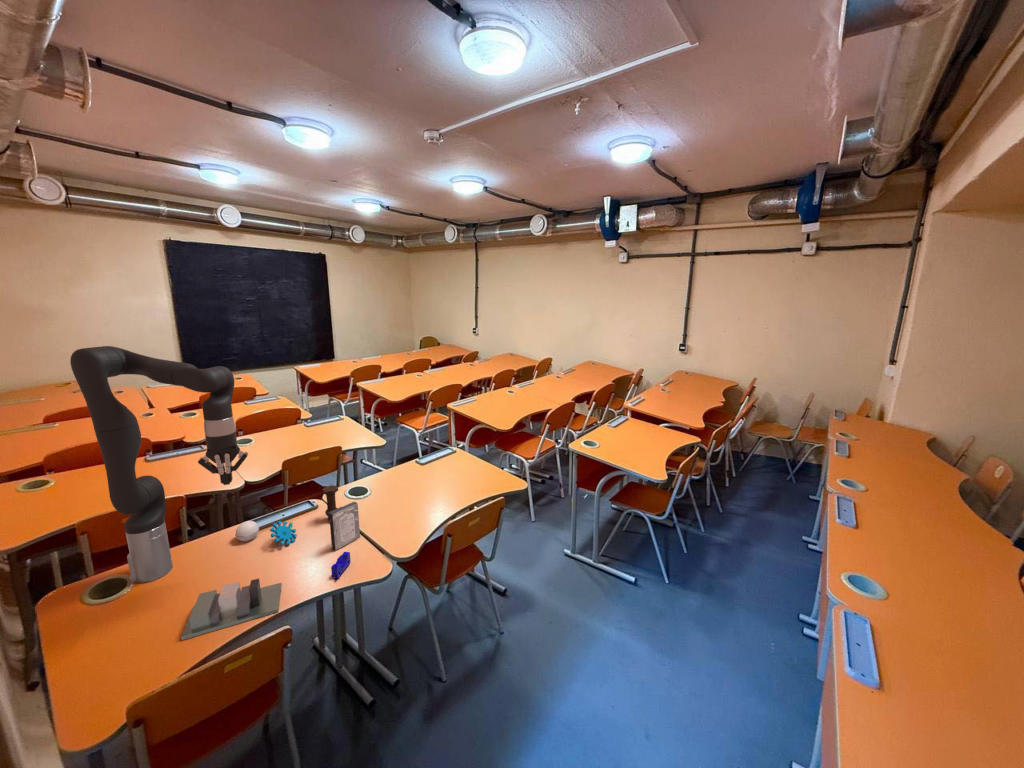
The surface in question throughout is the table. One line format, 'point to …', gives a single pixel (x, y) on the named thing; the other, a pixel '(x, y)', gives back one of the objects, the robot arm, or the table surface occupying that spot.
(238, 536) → the seamed sphere
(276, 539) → the gear
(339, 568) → the cable holder
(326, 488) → the bolt
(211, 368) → the robot arm
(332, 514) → the disk drive
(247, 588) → the free jaw
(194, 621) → the vise
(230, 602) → the steel block
